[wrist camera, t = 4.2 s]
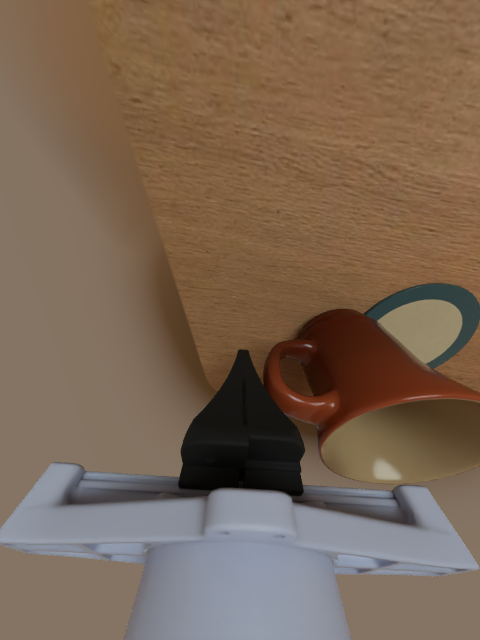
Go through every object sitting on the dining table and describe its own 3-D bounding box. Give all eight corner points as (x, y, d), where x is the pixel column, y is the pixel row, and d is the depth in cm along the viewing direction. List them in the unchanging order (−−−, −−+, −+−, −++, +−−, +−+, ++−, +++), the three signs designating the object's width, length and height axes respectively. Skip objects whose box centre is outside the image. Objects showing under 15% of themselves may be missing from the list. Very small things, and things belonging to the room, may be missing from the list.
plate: (401, 389, 22) (403, 392, 22) (321, 360, 20) (322, 362, 20) (507, 313, 16) (512, 314, 16) (411, 260, 14) (415, 261, 14)
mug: (400, 311, 16) (578, 425, 7) (346, 375, 21) (416, 494, 12) (277, 274, 15) (310, 351, 6) (248, 349, 20) (243, 457, 11)
